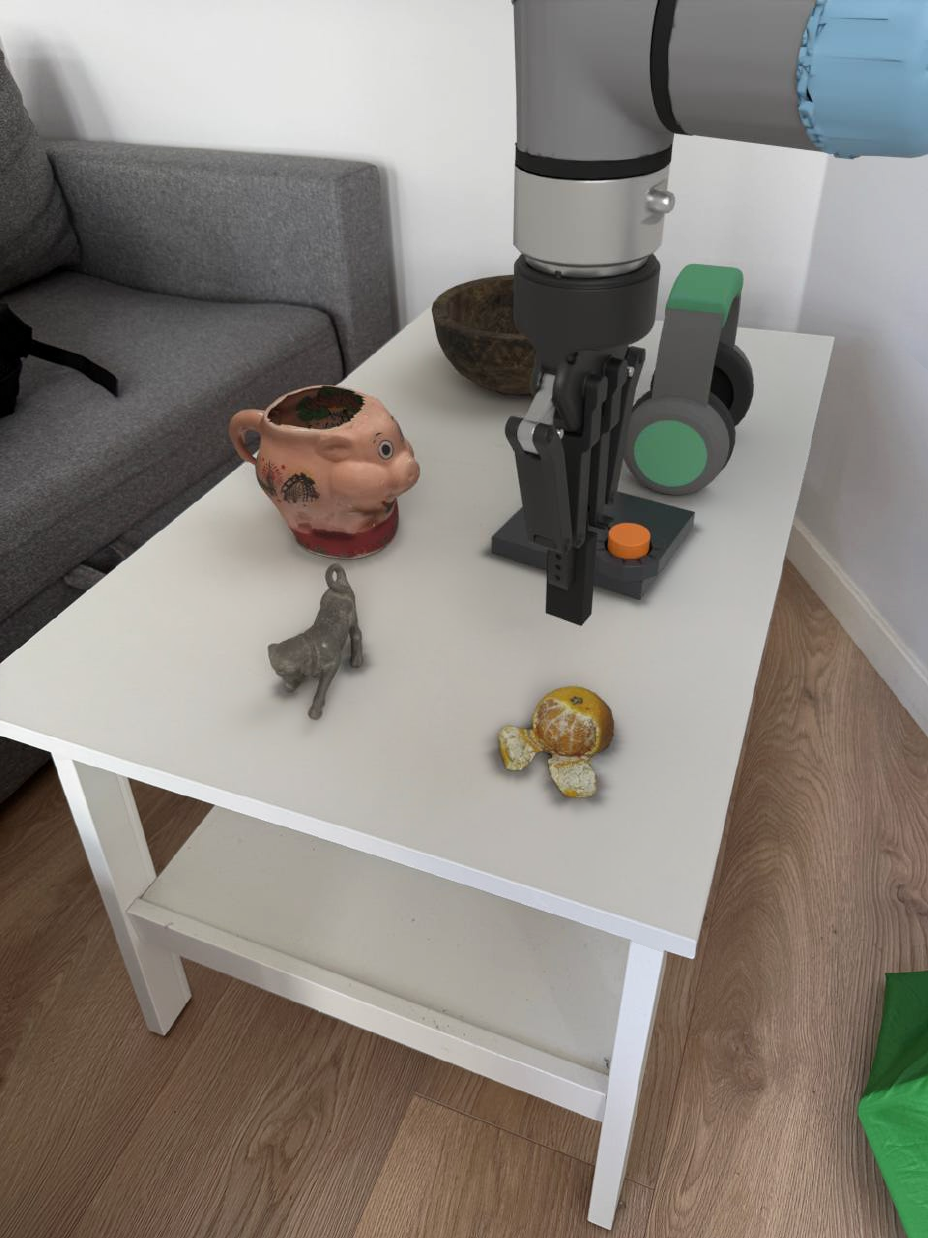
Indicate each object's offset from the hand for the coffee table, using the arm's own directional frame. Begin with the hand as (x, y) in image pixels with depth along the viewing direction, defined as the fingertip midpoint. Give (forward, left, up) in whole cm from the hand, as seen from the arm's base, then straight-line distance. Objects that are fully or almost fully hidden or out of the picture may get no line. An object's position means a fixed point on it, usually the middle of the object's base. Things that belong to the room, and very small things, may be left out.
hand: (568, 613), depth 62 cm
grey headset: (+7, -42, -11) cm, 44 cm away
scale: (+8, -24, -11) cm, 27 cm away
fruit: (-1, +2, -11) cm, 11 cm away
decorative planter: (+31, -13, -11) cm, 36 cm away
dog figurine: (+19, +4, -11) cm, 23 cm away
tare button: (+3, -20, -8) cm, 21 cm away
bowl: (+31, -52, -11) cm, 61 cm away
